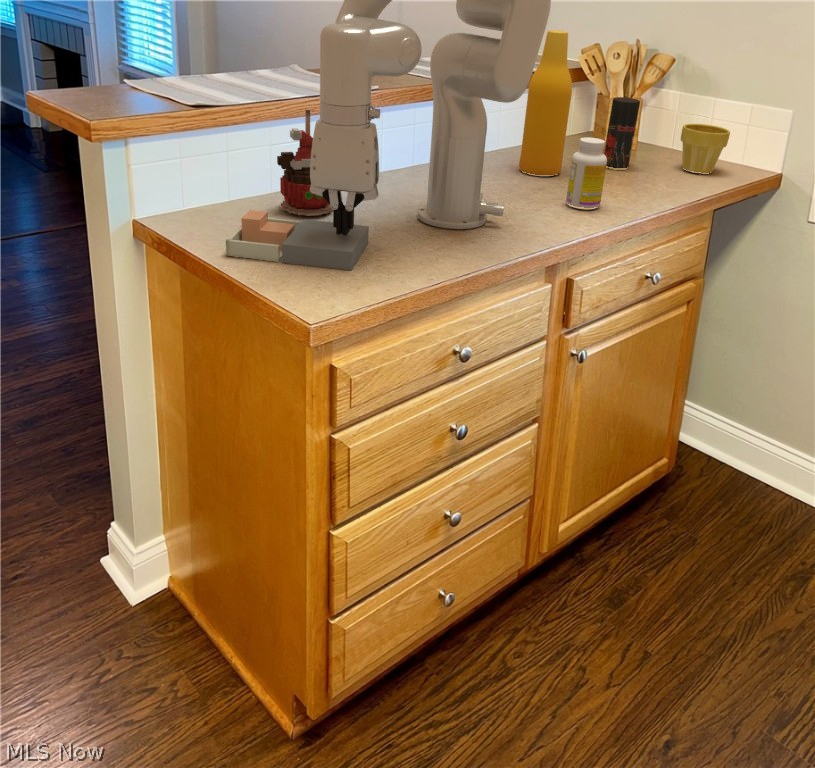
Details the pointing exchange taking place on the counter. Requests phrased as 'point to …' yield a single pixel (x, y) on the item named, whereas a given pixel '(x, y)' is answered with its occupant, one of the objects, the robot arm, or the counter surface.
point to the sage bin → (255, 245)
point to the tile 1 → (253, 225)
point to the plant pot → (702, 146)
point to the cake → (300, 177)
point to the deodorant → (621, 131)
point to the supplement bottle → (587, 174)
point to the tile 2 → (275, 233)
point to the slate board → (324, 245)
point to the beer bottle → (547, 109)
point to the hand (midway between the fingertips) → (343, 232)
